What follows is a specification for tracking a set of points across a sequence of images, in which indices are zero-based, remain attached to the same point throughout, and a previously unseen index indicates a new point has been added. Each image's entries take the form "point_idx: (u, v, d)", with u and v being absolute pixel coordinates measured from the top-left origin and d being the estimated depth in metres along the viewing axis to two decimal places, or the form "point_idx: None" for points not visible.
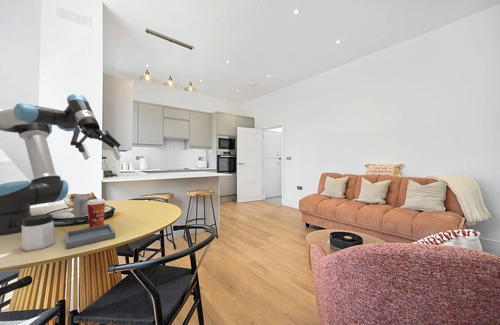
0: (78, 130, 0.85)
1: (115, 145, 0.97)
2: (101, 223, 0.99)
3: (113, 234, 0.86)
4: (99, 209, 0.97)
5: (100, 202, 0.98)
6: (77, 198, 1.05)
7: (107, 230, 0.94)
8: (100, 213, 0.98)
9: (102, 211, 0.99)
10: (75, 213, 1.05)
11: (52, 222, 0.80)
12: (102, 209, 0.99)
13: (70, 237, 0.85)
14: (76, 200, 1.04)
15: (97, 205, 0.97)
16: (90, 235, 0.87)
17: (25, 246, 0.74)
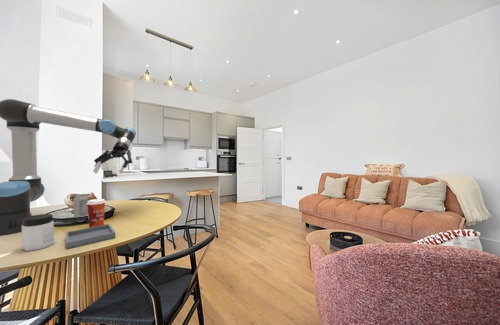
0: None
1: None
2: (101, 223, 0.99)
3: (113, 234, 0.86)
4: (99, 209, 0.97)
5: (100, 202, 0.98)
6: (77, 198, 1.05)
7: (107, 230, 0.94)
8: (100, 213, 0.98)
9: (102, 211, 0.99)
10: (75, 213, 1.05)
11: (52, 222, 0.80)
12: (102, 209, 0.99)
13: (70, 237, 0.85)
14: (76, 200, 1.04)
15: (97, 205, 0.97)
16: (90, 235, 0.87)
17: (25, 246, 0.74)
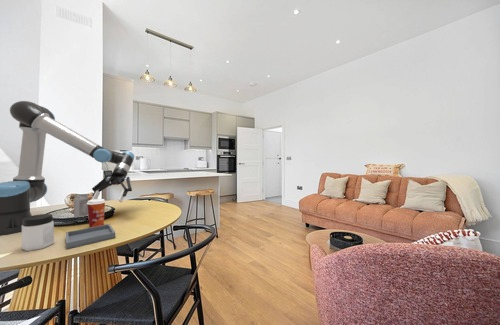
0: None
1: None
2: (101, 223, 0.99)
3: (113, 234, 0.86)
4: (99, 209, 0.97)
5: (100, 202, 0.98)
6: (77, 198, 1.05)
7: (107, 230, 0.94)
8: (100, 213, 0.98)
9: (102, 211, 0.99)
10: (75, 213, 1.05)
11: (52, 222, 0.80)
12: (102, 209, 0.99)
13: (70, 237, 0.85)
14: (76, 200, 1.04)
15: (97, 205, 0.97)
16: (90, 235, 0.87)
17: (25, 246, 0.74)
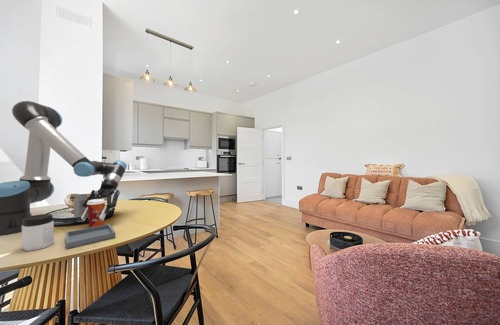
0: None
1: None
2: (101, 223, 0.99)
3: (113, 234, 0.86)
4: (99, 209, 0.97)
5: (100, 202, 0.98)
6: (77, 198, 1.05)
7: (107, 230, 0.94)
8: (100, 213, 0.98)
9: None
10: (75, 213, 1.05)
11: (52, 222, 0.80)
12: (102, 209, 0.99)
13: (70, 237, 0.85)
14: (76, 200, 1.04)
15: (97, 205, 0.97)
16: (90, 235, 0.87)
17: (25, 246, 0.74)
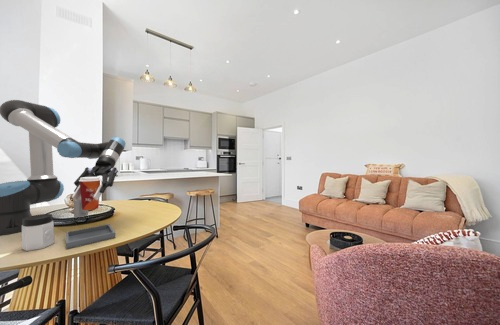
0: None
1: None
2: (96, 204, 0.86)
3: (113, 234, 0.86)
4: (93, 187, 0.84)
5: (94, 179, 0.84)
6: None
7: (107, 230, 0.94)
8: (94, 192, 0.85)
9: None
10: (75, 213, 1.05)
11: (52, 222, 0.80)
12: (97, 188, 0.86)
13: (70, 237, 0.85)
14: None
15: (91, 182, 0.83)
16: (90, 235, 0.87)
17: (25, 246, 0.74)
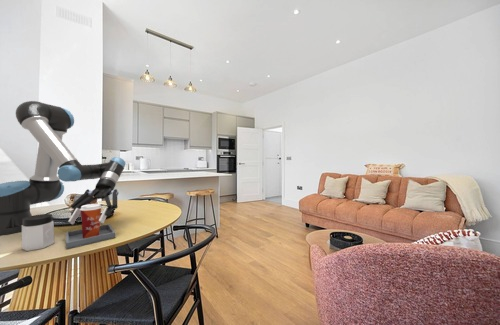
0: None
1: None
2: (96, 232, 0.86)
3: (113, 234, 0.86)
4: (94, 216, 0.84)
5: (95, 208, 0.85)
6: (77, 198, 1.05)
7: (107, 230, 0.94)
8: (95, 220, 0.85)
9: (98, 218, 0.86)
10: None
11: (52, 222, 0.80)
12: (98, 216, 0.86)
13: (70, 237, 0.85)
14: None
15: (92, 211, 0.84)
16: None
17: (25, 246, 0.74)
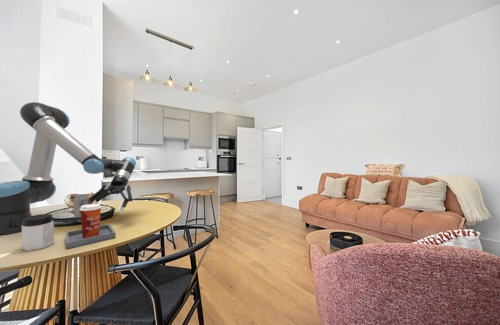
0: None
1: (96, 202, 1.01)
2: (96, 232, 0.86)
3: (113, 234, 0.86)
4: (94, 216, 0.84)
5: (95, 208, 0.85)
6: (77, 198, 1.05)
7: (107, 230, 0.94)
8: (95, 220, 0.85)
9: (97, 218, 0.86)
10: (75, 213, 1.05)
11: (52, 222, 0.80)
12: (97, 216, 0.86)
13: (70, 237, 0.85)
14: (76, 200, 1.04)
15: (91, 211, 0.84)
16: None
17: (25, 246, 0.74)
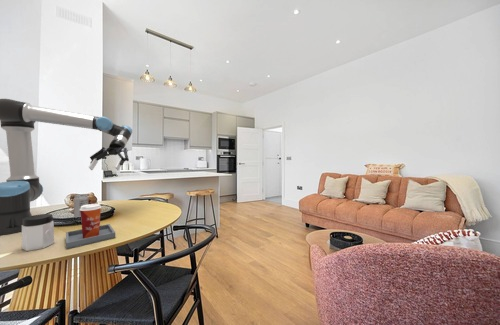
0: None
1: None
2: (96, 232, 0.86)
3: (113, 234, 0.86)
4: (94, 216, 0.84)
5: (95, 208, 0.85)
6: (77, 198, 1.05)
7: (107, 230, 0.94)
8: (95, 220, 0.85)
9: (97, 218, 0.86)
10: (75, 213, 1.05)
11: (52, 222, 0.80)
12: (97, 216, 0.86)
13: (70, 237, 0.85)
14: (76, 200, 1.04)
15: (91, 211, 0.84)
16: None
17: (25, 246, 0.74)
